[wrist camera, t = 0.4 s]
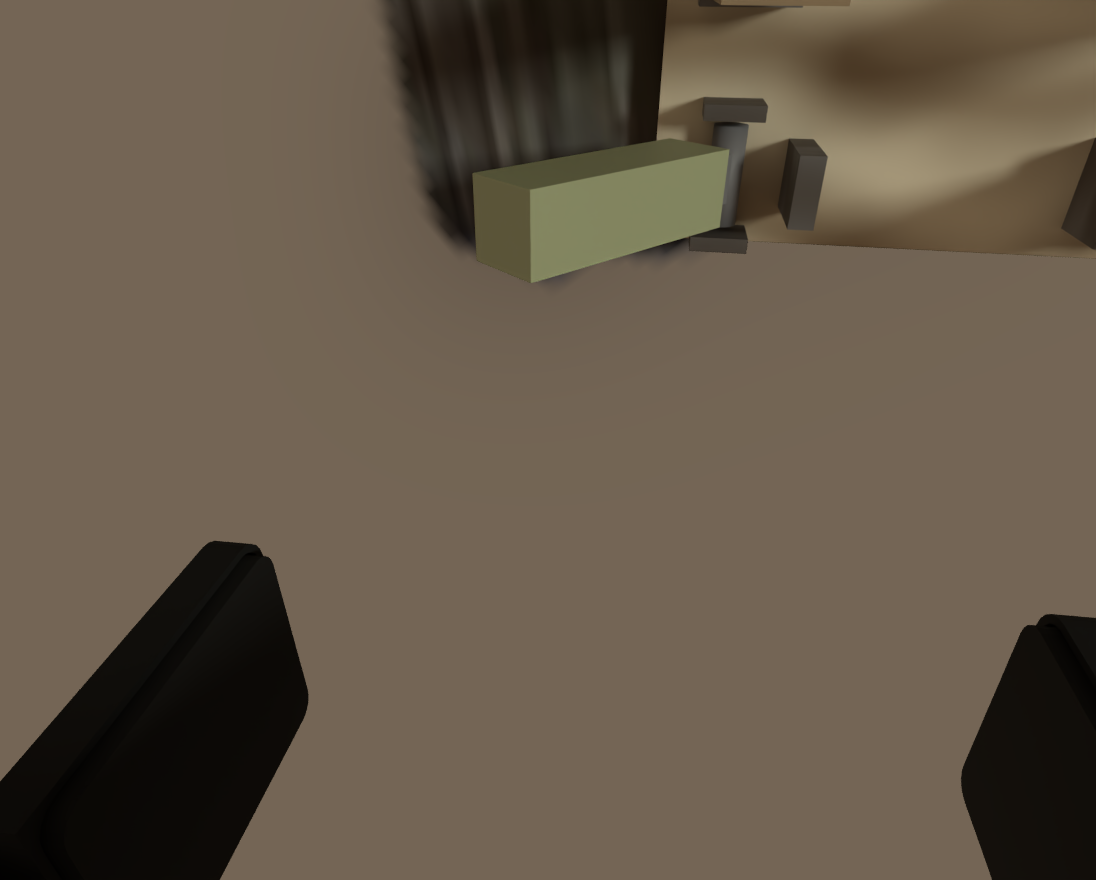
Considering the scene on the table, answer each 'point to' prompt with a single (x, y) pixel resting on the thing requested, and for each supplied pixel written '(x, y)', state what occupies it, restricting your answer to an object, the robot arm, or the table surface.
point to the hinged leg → (606, 203)
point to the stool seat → (894, 120)
